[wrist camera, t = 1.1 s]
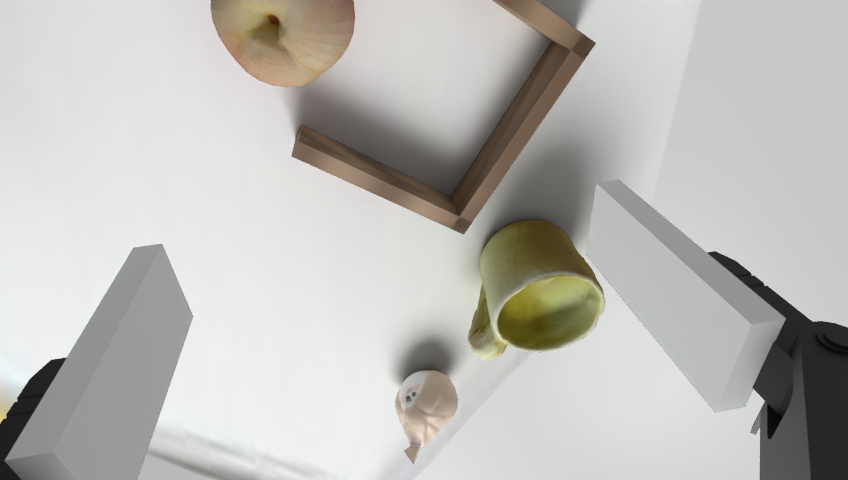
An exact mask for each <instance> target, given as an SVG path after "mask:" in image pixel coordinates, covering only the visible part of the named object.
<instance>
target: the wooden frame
mask: <svg viewBox="0 0 848 480" xmlns="http://www.w3.org/2000/svg"><path fill="white" fill-rule="evenodd" d="M493 1H494V2H496V3H497V4H498V5H500V6H501V7H503V8H504V9H506V10H507V11H509V12H510V13H511V14H513V15H514V16H516V17H517V18H519V19H520V20H522V21H523V22H524V23H526V24H527V25H529V26H530V27H532V28H533V29H534V30H536V31H537V32H539V33H540V34H542V35H543V36H545V37H546V38H547V39H549V40H550V41H552V42H551V44H550V45H549V47H548V48H547V50H546V51H545V53H544V54H543V56H542V58H541V59H540V61H539V62H538V64H537V65H536V67H535V68H534V70H533V71H532V73H531V74H530V76H529V78H528V79H527V81H526V82H525V84H524V85H523V87H522V88H521V90H520V91H519V93H518V94H517V96H516V97H515V99H514V101H513V102H512V104H511V105H510V107H509V108H508V110H507V111H506V113H505V114H504V116H503V117H502V119H501V121H500V122H499V124H498V125H497V127H496V128H495V130H494V131H493V133H492V134H491V136H490V137H489V139H488V140H487V142H486V144H485V145H484V147H483V148H482V150H481V151H480V153H479V154H478V156H477V157H476V159H475V160H474V162H473V164H472V165H471V167H470V168H469V170H468V171H467V173H466V174H465V176H464V177H463V179H462V180H461V182H460V183H459V185H458V187H457V188H456V190H455V191H454V193H453V194H452V196H451V197H450V196H448V195H446V194H444V193H442V192H440V191H438V190H436V189H433V188H431V187H429V186H427V185H425V184H423V183H421V182H419V181H417V180H415V179H413V178H411V177H409V176H407V175H405V174H402V173H400V172H398V171H396V170H394V169H392V168H390V167H388V166H386V165H384V164H382V163H380V162H378V161H376V160H374V159H372V158H369V157H367V156H365V155H363V154H361V153H359V152H357V151H355V150H353V149H351V148H349V147H347V146H345V145H343V144H341V143H338V142H336V141H334V140H332V139H330V138H328V137H326V136H324V135H322V134H320V133H318V132H316V131H314V130H312V129H310V128H307V127H305V126H303V125H302V126H301V128H300V131H299V133H298V135H297V137H296V139H295V144H294V148H293V152H292V157H294V158H297V159H299V160H301V161H303V162H305V163H308V164H310V165H312V166H314V167H316V168H319V169H321V170H323V171H325V172H327V173H330V174H332V175H334V176H336V177H338V178H341V179H343V180H345V181H347V182H349V183H352V184H354V185H356V186H358V187H360V188H363V189H365V190H367V191H369V192H371V193H374V194H376V195H378V196H380V197H383V198H385V199H387V200H389V201H391V202H394V203H396V204H398V205H400V206H402V207H405V208H407V209H409V210H411V211H413V212H416V213H418V214H420V215H422V216H424V217H427V218H429V219H431V220H433V221H435V222H438V223H440V224H442V225H444V226H446V227H449V228H451V229H453V230H455V231H457V232H460V233H462V234H464V233H465V232H466V231H467V229H468V228H469V226H470V225H471V223H472V222H473V220H474V219H475V218H476V216H477V215H478V213H479V212H480V210H481V209H482V207H483V206H484V204H485V203H486V202H487V200H488V199H489V197H490V196H491V194H492V193H493V191H494V190H495V189H496V187H497V186H498V184H499V183H500V181H501V180H502V178H503V177H504V175H505V174H506V173H507V171H508V170H509V168H510V167H511V165H512V164H513V162H514V161H515V160H516V158H517V157H518V155H519V154H520V152H521V151H522V149H523V148H524V146H525V145H526V144H527V142H528V141H529V139H530V138H531V136H532V135H533V133H534V132H535V131H536V129H537V128H538V126H539V125H540V123H541V122H542V120H543V119H544V118H545V116H546V115H547V113H548V112H549V110H550V109H551V107H552V106H553V104H554V103H555V102H556V100H557V99H558V97H559V96H560V94H561V93H562V91H563V90H564V89H565V87H566V86H567V84H568V83H569V81H570V80H571V78H572V77H573V75H574V74H575V73H576V71H577V70H578V68H579V67H580V65H581V64H582V62H583V61H584V60H585V58H586V57H587V55H588V54H589V52H590V51H591V49H592V48H593V47H594V45H595V44H596V43H595V42H594V41H592V40H591V39H589V38H588V37H587V36H585V35H584V34H582V33H581V32H580V31H578V30H577V29H576V28H574V27H573V26H571V25H570V24H569V23H567V22H566V21H565V20H563V19H562V18H560V17H559V16H558V15H556V14H555V13H554V12H552V11H551V10H549V9H548V8H547V7H545V6H544V5H543V4H541V3H540V2H538V1H537V0H493Z"/></svg>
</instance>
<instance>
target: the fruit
mask: <svg viewBox="0 0 848 480" xmlns="http://www.w3.org/2000/svg"><path fill="white" fill-rule="evenodd" d="M211 13H212V19H213V23H214V25H215V28H216V30H217V33H218V35H219V37H220V39H221V40H222V42H223V43H224V45H225V46H226V48H227V50H228V51H229V52H230V53H231V55H232V56H233V57H234V59H235V60H236V61H237V62H238V63H239V64H240V65H241V66H242V67H243V69H244V70H245V71H246V72H247V73H249V74H250V75H252V76H253V77H255V78H256V79H258V80H260V81H263V82H265V83H268V84H271V85H275V86H282V87H297V86H302V85H305V84H308V83H310V82H313V81H314V80H315V79H316V78H318V77H319V76H320V75H321V74H322V73H323V72H325V71H326V70H327V69H329V68H330V67H332V66H333V65H334V64H335V63H336V62H337V61H338V60H339V59H340V58H341V56H342V55H343V53H344V52H345V50H346V49H347V47H348V45H349V43H350V40H351V38H352V35H353V31H354V21H355V12H354V1H353V0H211Z"/></svg>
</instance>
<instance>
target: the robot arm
mask: <svg viewBox="0 0 848 480" xmlns="http://www.w3.org/2000/svg"><path fill="white" fill-rule="evenodd" d="M586 256H587V257H588V258H589V259H590V261H591V262H592V263H593V264H594V266H595V267H596V268H597V269H598V270H599V272H600V273H601V274H602V275H603V276H604V278H605V279H606V280H607V281H608V283H609V284H610V285H611V286H612V287H613V289H614V290H615V291H616V292H617V294H618V295H619V296H620V297H621V298H622V299H623V301H624V302H625V303H626V305H627V306H628V307H629V308H630V309H631V311H632V312H633V313H634V314H635V316H636V317H637V318H638V319H639V320H640V322H641V323H642V324H643V325H644V327H645V328H646V329H647V330H648V331H649V333H650V334H651V335H652V336H653V338H654V339H655V340H656V341H657V342H658V343H659V345H660V346H661V347H662V348H663V350H664V351H665V352H666V353H667V355H668V356H669V357H670V358H671V359H672V361H673V362H674V363H675V364H676V366H677V367H678V368H679V369H680V370H681V372H682V373H683V374H684V375H685V376H686V378H687V379H688V380H689V382H690V383H691V384H692V385H693V386H694V387H695V389H696V390H697V391H698V393H699V394H700V395H701V396H702V397H703V399H704V400H705V401H706V402H707V403H708V405H709V406H710V407H711V408H712V410H713V411H714V412H715V413H716V412H721V411H726V410H731V409H735V408H741V407H745V406H746V404H747V401H748V399H749V397H750V395H751V393H752V391H753V389H754V390H755V391H756V392H757V393H758V394H759V395H760V396H761V397H762V398H763V399H764V400H765V402H764V404H763V406H762V408H761V410H760V413H759V414H758V416H757V418H756V420H755V423H754V424H753V427H752V429H751V432H750V433H753V434H756V433H757V431H758V429H759V428H760V480H848V328H847V327H844V326H841V325H838V324H835V323H829V322H823V321H818V322H812V321H811V320H809V319H808V318H807V317H806V316H805V315H803V314H802V313H801V312H799V311H798V310H797V309H796V308H794V307H793V306H792V305H790V304H789V303H788V302H787V301H786V300H784V299H783V298H782V297H781V296H779V295H778V294H776V293H775V292H774V291H773V290H772V289H770V288H769V287H768V286H764V283H763V282H762V281H760V280H759V279H758V278H756V277H755V276H752V275H751V273H750V272H749V271H748V270H746V269H745V268H744V267H743V266H741V265H740V264H739V263H738V262H736V261H735V260H733V259H730V258H728V257H726V256H724V255H722V254H719V253H717V252H715V251H714V252H708V253H707V252H705V251H704V250H703V249H702V248H700V247H699V246H698V245H697V244H696V243H694V242H693V241H692V240H691V239H689V238H688V237H687V236H686V235H685V234H684V233H682V232H681V231H680V230H679V229H678V228H676V227H675V226H674V225H673V224H672V223H670V222H669V221H668V220H667V219H665V218H664V217H663V216H662V215H661V214H659V213H658V212H657V211H656V210H655V209H654V208H652V207H651V206H650V205H649V204H647V203H646V202H645V201H644V200H643V199H641V198H640V197H639V196H638V195H637V194H635V193H634V192H633V191H632V190H631V189H629V188H628V187H627V186H626V185H625V184H623V183H622V182H621V181H620V180H614V181H607V182H600V183H596V188H595V195H594V202H593V208H592V215H591V222H590V229H589V235H588V242H587V249H586ZM192 318H193V315H192V313H191V310H190V308H189V306H188V303H187V301H186V299H185V296H184V294H183V292H182V289H181V287H180V285H179V282H178V280H177V278H176V275H175V273H174V271H173V268H172V266H171V264H170V261H169V259H168V257H167V254H166V252H165V250H164V247H163V245H162V244H157V245H150V246H142V247H135V248H133V250H132V251H131V253H130V255H129V256H128V258H127V260H126V261H125V263H124V265H123V266H122V268H121V269H120V271H119V273H118V274H117V276H116V278H115V279H114V281H113V283H112V284H111V286H110V288H109V289H108V291H107V293H106V294H105V296H104V297H103V299H102V301H101V302H100V304H99V306H98V307H97V309H96V311H95V312H94V314H93V316H92V317H91V319H90V321H89V322H88V324H87V325H86V327H85V329H84V330H83V332H82V334H81V335H80V337H79V339H78V340H77V342H76V344H75V345H74V347H73V349H72V350H71V352H70V353H69V355H68V357H67V358H61V359H55V360H51V361H50V362H48V363H47V364H46V365H45V366H44V367H43V368H42V369H41V370H39V371H38V372H37V373H36V374H35V375H34V376H33V377H32V378H31V379H30V380H29V381H28V383H27V384H26V386H25V387H24V389H23V390H22V392H21V393H20V395H19V396H18V398H17V399H18V401H17V402H15V403H14V404H13V406H12V407H11V409H10V410H9V412H8V413H7V418H6V419H3V421H2V422H1V424H0V480H137V479H138V476H139V473H140V470H141V467H142V464H143V461H144V458H145V456H146V453H147V450H148V447H149V444H150V441H151V438H152V435H153V432H154V429H155V426H156V423H157V421H158V418H159V415H160V412H161V409H162V406H163V403H164V400H165V397H166V394H167V391H168V388H169V385H170V383H171V380H172V377H173V374H174V371H175V368H176V365H177V362H178V359H179V356H180V353H181V350H182V347H183V345H184V342H185V339H186V336H187V333H188V330H189V327H190V324H191V321H192Z"/></svg>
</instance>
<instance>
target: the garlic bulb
mask: <svg viewBox="0 0 848 480" xmlns="http://www.w3.org/2000/svg"><path fill="white" fill-rule="evenodd" d="M457 405H458V398H457V394H456V391H455V387H454V385H453V384H452V382H451V380H450V379H449V378H448V377H447V376H446V375H444V374H443V373H441V372H439V371H436V370H430V371H428V370H423V371H418V372H415V373H413V374H411V375H410V376H409V377H407V378H406V379H405V381H404V382H403V384H402V385H401V388H400V389H399V391H398V393H397V396H396V402H395V406H396V411H397V414H398V417H399V420H400V423H401V425H402V426H403V428H404V431H405V434H406V436H407V438H408V441H409V442H410V447H409V448H407V449H406V450H404V452H405V453H406V455H407V456H408V458H409V459H410V461H411V462H412V463H413V464H414V462H415V459H416V457H417V454H418V450H419V448H420V447H422V446H425V445H426V444H427V442H428V441H429V440H430V439H431V438H433V437H434V436H435V435H436V434H437V432H438V431H439V430H440V429H441V428H442V427H443V426H445V425H446V424H447V423H448V422H449V421H450V420H451V419H452V418H453V416H454V415H455V412H456V409H457Z"/></svg>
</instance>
